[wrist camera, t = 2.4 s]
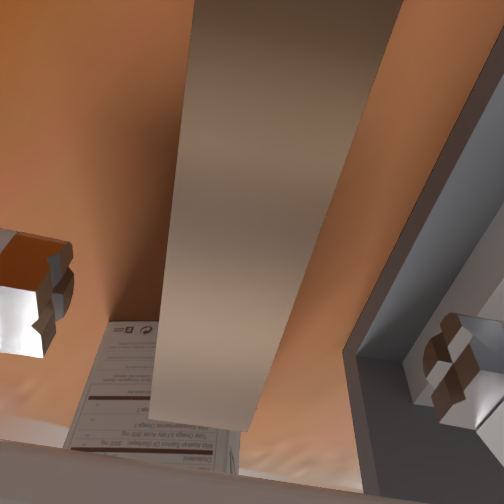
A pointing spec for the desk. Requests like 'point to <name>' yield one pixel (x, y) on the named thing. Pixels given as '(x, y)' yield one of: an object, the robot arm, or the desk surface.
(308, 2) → the door panel
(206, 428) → the supplement box
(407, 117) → the desk surface
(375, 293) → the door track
